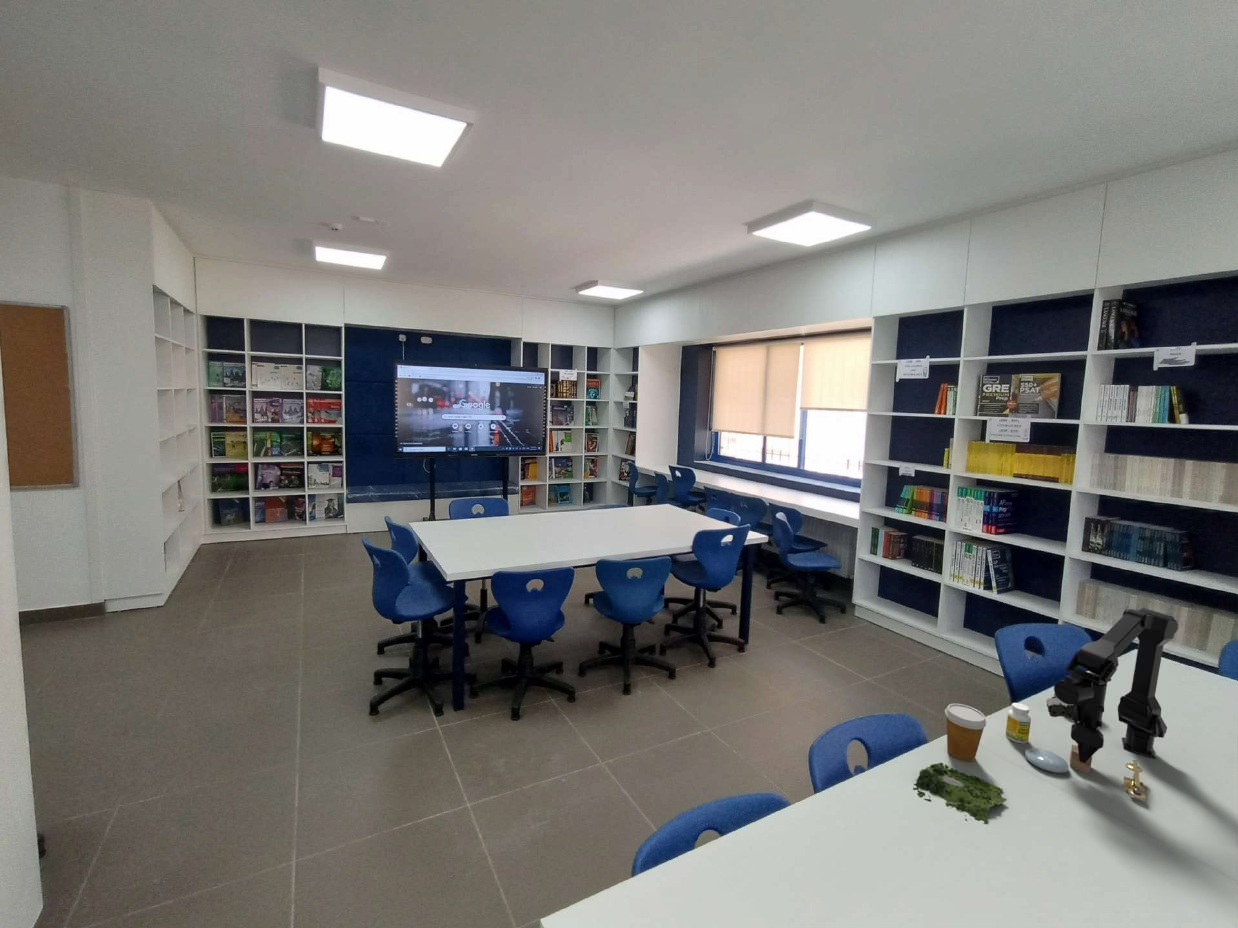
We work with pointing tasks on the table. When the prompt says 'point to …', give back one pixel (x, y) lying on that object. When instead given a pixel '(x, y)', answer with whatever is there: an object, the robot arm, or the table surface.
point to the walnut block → (1076, 763)
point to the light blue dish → (1046, 760)
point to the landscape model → (959, 790)
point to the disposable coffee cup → (964, 731)
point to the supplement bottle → (1018, 723)
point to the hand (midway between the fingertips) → (1081, 753)
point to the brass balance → (1134, 782)
